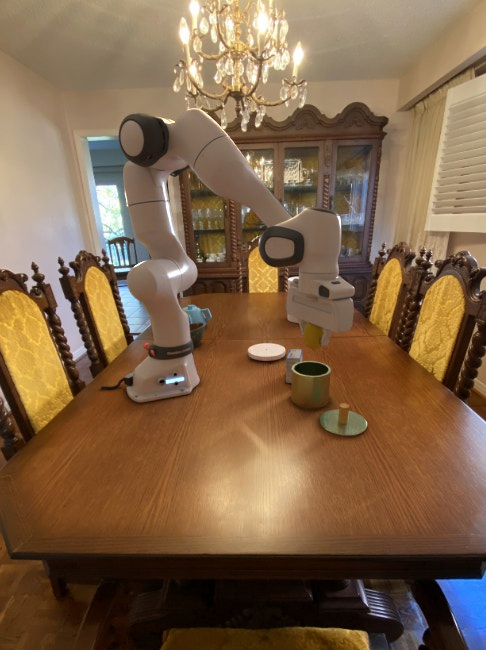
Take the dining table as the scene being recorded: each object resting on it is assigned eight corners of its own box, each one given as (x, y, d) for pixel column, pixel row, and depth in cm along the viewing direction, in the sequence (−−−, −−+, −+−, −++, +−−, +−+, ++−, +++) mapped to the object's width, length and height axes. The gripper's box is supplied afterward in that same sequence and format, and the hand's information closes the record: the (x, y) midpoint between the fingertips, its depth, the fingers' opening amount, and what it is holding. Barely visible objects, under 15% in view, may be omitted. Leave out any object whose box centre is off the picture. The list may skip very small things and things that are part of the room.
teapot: (187, 334, 156) (185, 311, 152) (169, 327, 166) (167, 305, 162) (214, 326, 166) (212, 304, 162) (195, 320, 176) (193, 300, 172)
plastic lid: (265, 366, 121) (265, 359, 120) (240, 355, 131) (240, 349, 130) (293, 355, 129) (293, 349, 128) (267, 346, 139) (267, 340, 138)
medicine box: (300, 384, 108) (300, 358, 105) (285, 383, 109) (286, 357, 105) (301, 373, 115) (302, 349, 112) (288, 372, 116) (288, 348, 113)
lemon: (320, 356, 82) (322, 324, 79) (298, 352, 84) (300, 320, 82) (328, 349, 86) (331, 318, 83) (308, 345, 89) (309, 315, 86)
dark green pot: (157, 344, 145) (154, 320, 142) (205, 340, 148) (203, 317, 144) (154, 355, 133) (150, 330, 130) (206, 351, 136) (204, 326, 132)
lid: (342, 444, 79) (344, 423, 77) (310, 421, 88) (310, 402, 86) (376, 429, 84) (379, 409, 82) (343, 408, 94) (344, 390, 92)
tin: (307, 414, 92) (308, 380, 88) (284, 398, 100) (284, 366, 96) (336, 403, 96) (338, 370, 93) (312, 388, 105) (313, 358, 101)
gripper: (280, 278, 86) (279, 331, 91) (338, 293, 69) (333, 356, 75) (301, 276, 89) (299, 327, 94) (361, 289, 72) (354, 351, 78)
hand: (314, 340), depth 84 cm, fingers closed on lemon, 5 cm apart
